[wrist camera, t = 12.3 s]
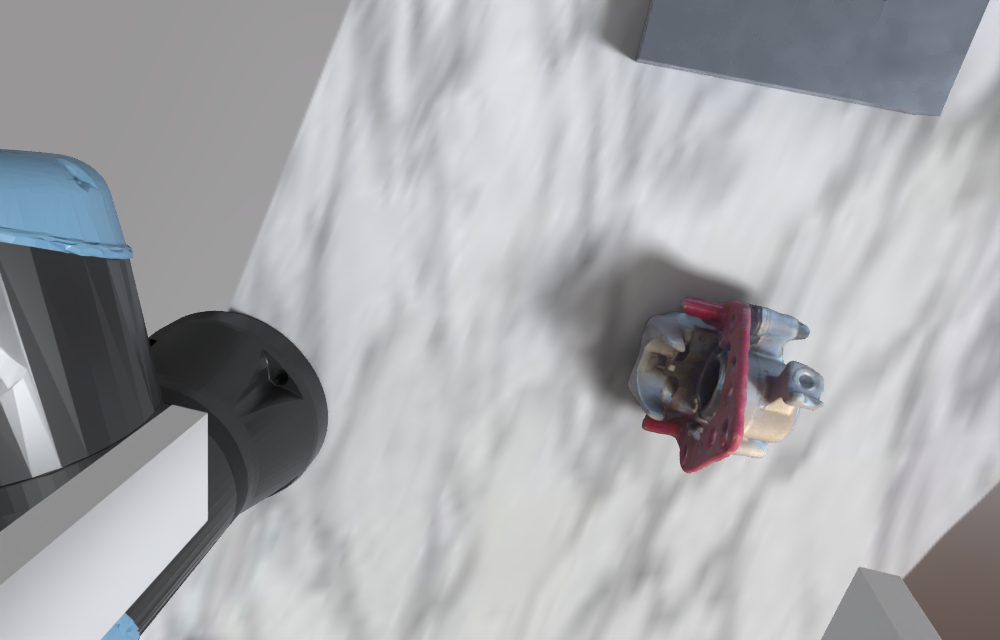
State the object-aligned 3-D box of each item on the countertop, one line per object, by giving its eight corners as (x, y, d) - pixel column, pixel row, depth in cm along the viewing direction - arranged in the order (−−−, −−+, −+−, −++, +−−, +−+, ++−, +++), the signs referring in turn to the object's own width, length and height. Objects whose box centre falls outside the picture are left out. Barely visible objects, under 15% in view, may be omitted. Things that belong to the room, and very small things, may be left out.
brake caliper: (623, 267, 36) (793, 356, 27) (739, 268, 42) (912, 342, 33) (580, 424, 41) (715, 547, 31) (691, 406, 46) (832, 506, 37)
